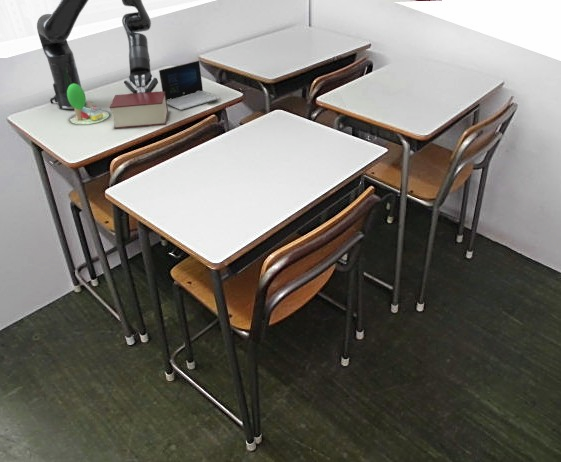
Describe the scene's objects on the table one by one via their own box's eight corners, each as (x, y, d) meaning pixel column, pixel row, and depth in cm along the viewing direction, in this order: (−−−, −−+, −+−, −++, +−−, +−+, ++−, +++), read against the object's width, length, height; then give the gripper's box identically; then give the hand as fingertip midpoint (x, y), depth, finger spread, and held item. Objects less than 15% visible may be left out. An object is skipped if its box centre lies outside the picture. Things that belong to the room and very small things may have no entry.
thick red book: (114, 128, 186) (109, 107, 182) (119, 115, 197) (115, 94, 193) (165, 124, 187) (162, 102, 183) (168, 111, 198) (164, 91, 194)
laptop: (180, 111, 198) (175, 76, 191) (164, 103, 206) (158, 70, 199) (220, 99, 208) (216, 66, 200) (202, 92, 216) (198, 60, 209)
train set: (106, 81, 188) (68, 90, 181) (115, 117, 195) (78, 127, 189) (91, 73, 198) (54, 81, 191) (99, 107, 206) (64, 116, 199)
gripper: (119, 57, 195) (122, 101, 192) (155, 54, 196) (158, 97, 193) (124, 67, 203) (127, 109, 199) (158, 64, 203) (162, 106, 200)
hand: (142, 103), depth 196 cm, fingers closed
